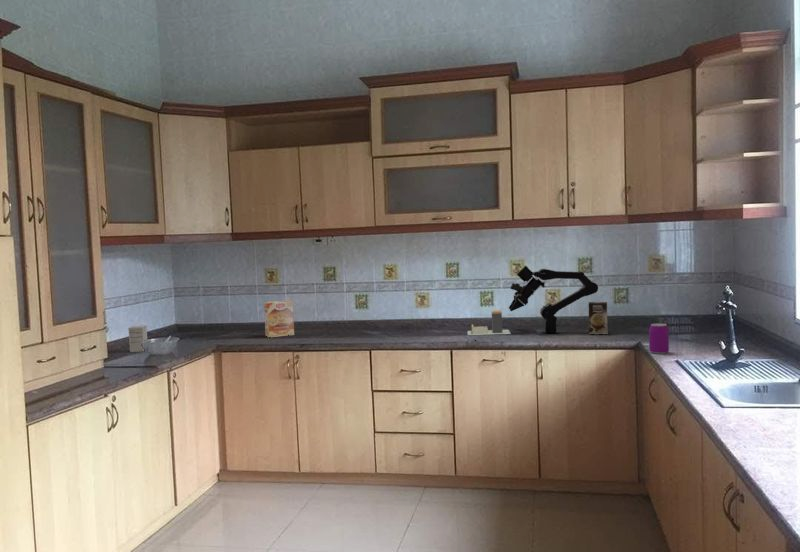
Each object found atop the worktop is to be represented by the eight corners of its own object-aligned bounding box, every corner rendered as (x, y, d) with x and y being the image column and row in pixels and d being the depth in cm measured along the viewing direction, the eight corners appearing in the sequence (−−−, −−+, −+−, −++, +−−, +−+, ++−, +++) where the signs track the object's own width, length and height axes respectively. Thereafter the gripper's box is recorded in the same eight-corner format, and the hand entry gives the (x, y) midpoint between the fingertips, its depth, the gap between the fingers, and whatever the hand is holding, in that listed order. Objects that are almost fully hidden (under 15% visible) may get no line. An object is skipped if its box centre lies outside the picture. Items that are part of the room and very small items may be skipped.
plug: (501, 331, 364) (501, 310, 363) (502, 332, 359) (501, 311, 358) (492, 331, 364) (491, 310, 363) (492, 332, 360) (491, 311, 359)
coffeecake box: (269, 337, 384) (267, 302, 382) (265, 336, 390) (263, 302, 389) (294, 335, 391) (293, 300, 390) (290, 333, 397) (288, 299, 396)
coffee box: (588, 335, 347) (588, 303, 346) (589, 333, 353) (588, 301, 352) (607, 335, 345) (607, 302, 344) (607, 333, 351) (607, 301, 350)
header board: (508, 332, 368) (508, 322, 368) (510, 336, 354) (510, 326, 354) (467, 333, 370) (467, 323, 370) (467, 337, 356) (467, 327, 356)
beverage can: (645, 351, 296) (645, 324, 295) (661, 350, 298) (661, 322, 297) (656, 354, 288) (655, 326, 288) (672, 353, 290) (672, 324, 289)
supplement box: (134, 349, 361) (132, 325, 360) (148, 349, 362) (146, 325, 361) (129, 352, 354) (127, 327, 353) (144, 351, 354) (142, 326, 353)
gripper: (517, 276, 368) (497, 297, 370) (520, 278, 349) (499, 301, 351) (533, 290, 368) (512, 311, 369) (537, 293, 349) (515, 315, 351)
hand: (509, 309), depth 360 cm, fingers open, 9 cm apart
